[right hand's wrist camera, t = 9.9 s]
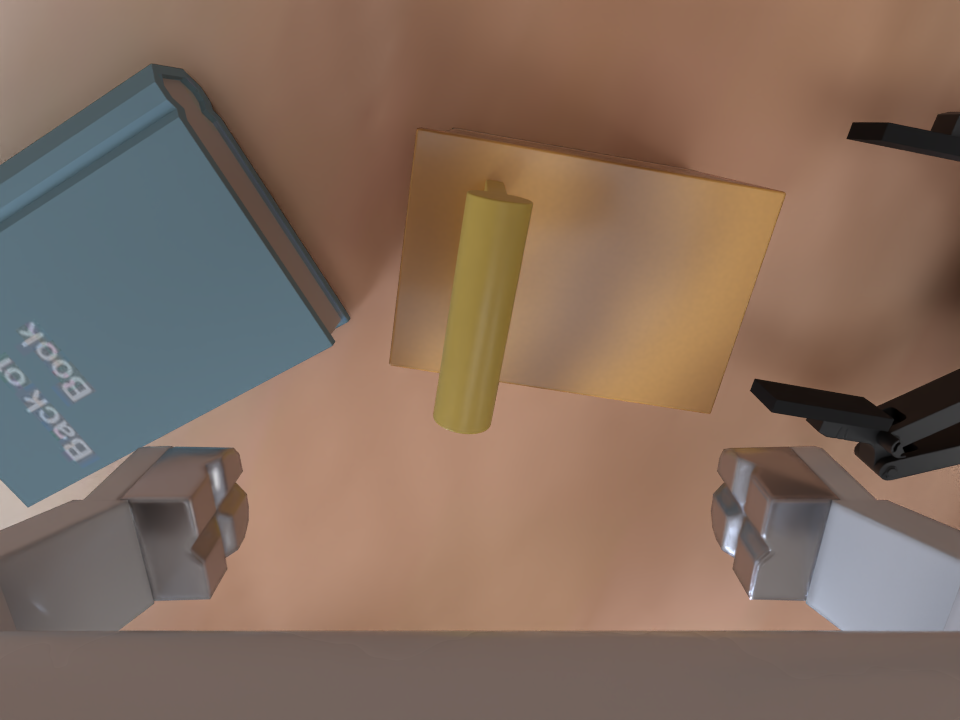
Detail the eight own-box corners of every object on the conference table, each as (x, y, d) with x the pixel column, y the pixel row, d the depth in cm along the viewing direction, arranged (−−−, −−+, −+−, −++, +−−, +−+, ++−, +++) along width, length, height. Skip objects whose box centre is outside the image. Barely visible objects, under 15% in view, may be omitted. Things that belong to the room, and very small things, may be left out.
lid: (392, 356, 28) (355, 453, 20) (419, 127, 24) (387, 130, 16) (702, 403, 28) (789, 516, 20) (773, 189, 25) (915, 222, 17)
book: (78, 464, 42) (27, 507, 37) (-105, 264, 37) (-190, 285, 32) (350, 318, 38) (332, 345, 33) (189, 70, 33) (141, 61, 28)
